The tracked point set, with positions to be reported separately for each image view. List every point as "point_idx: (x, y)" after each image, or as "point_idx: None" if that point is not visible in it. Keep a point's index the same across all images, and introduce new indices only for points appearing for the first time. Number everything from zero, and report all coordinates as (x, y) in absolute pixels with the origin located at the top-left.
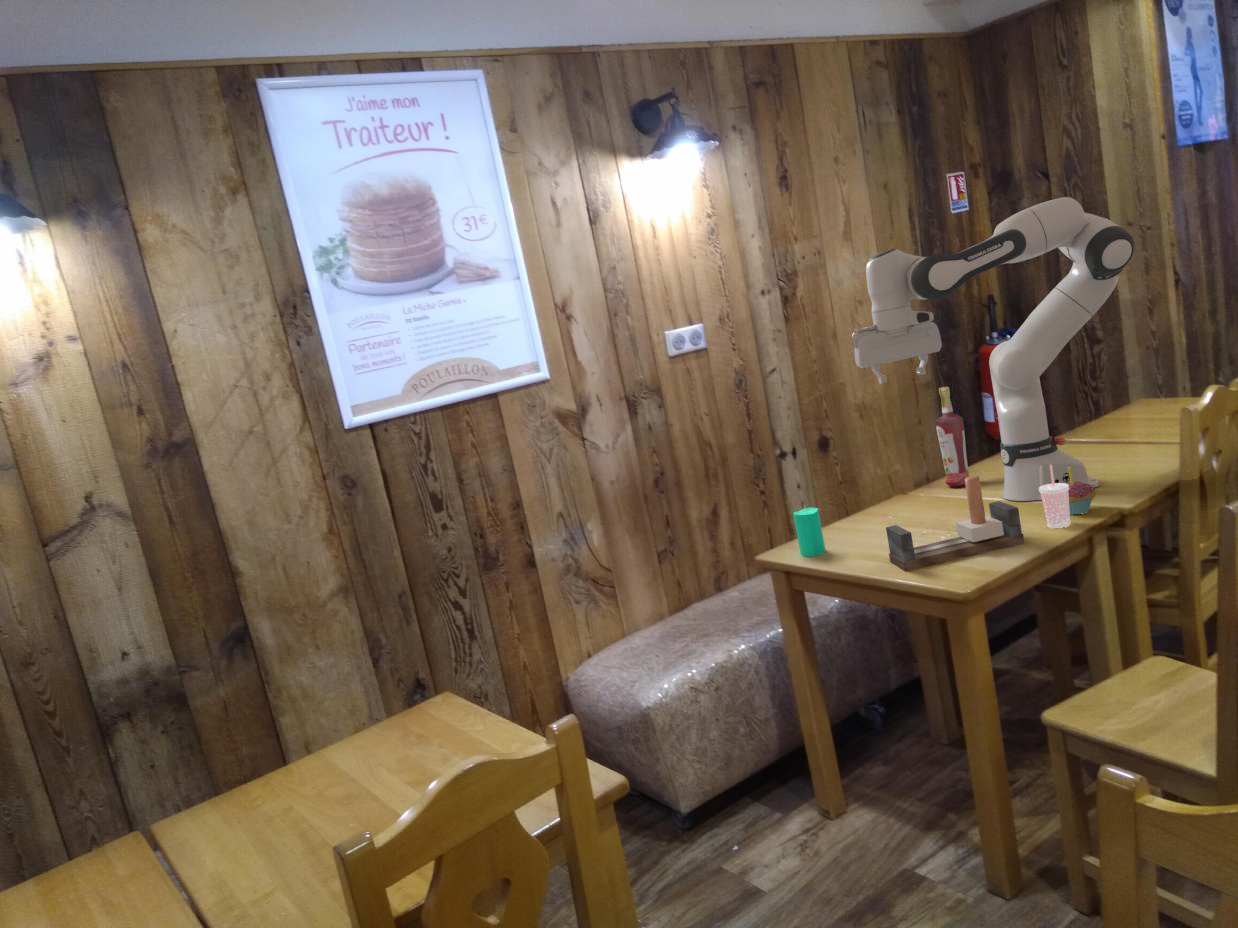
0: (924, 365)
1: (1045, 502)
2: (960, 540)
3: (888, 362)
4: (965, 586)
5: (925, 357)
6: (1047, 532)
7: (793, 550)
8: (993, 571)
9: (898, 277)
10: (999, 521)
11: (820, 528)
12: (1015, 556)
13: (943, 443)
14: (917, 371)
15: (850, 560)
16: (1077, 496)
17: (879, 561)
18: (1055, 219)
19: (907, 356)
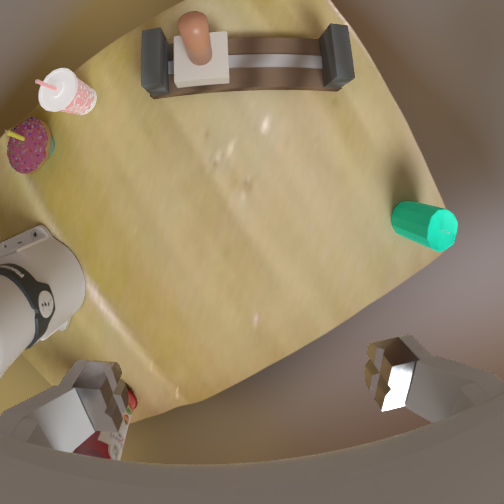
0: (53, 390)
1: (82, 86)
2: (235, 63)
3: (424, 427)
4: None
5: (12, 426)
6: (108, 78)
7: (420, 248)
8: None
9: None
10: (175, 39)
11: (413, 213)
12: (191, 11)
13: (117, 438)
14: (117, 407)
15: (379, 140)
16: (35, 118)
17: (348, 105)
18: None
19: (167, 477)
